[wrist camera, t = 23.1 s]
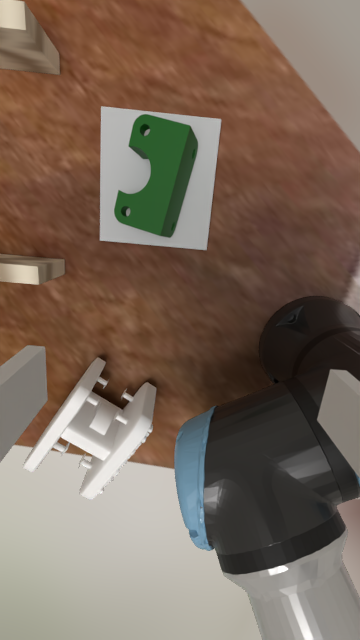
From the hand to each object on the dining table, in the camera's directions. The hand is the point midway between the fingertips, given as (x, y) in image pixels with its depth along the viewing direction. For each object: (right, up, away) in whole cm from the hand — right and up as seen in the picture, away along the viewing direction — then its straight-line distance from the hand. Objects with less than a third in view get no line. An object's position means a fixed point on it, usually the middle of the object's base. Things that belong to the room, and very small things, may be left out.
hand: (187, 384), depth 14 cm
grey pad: (-3, +20, +24) cm, 31 cm away
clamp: (-3, +20, +23) cm, 31 cm away
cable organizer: (-12, -10, +33) cm, 37 cm away
